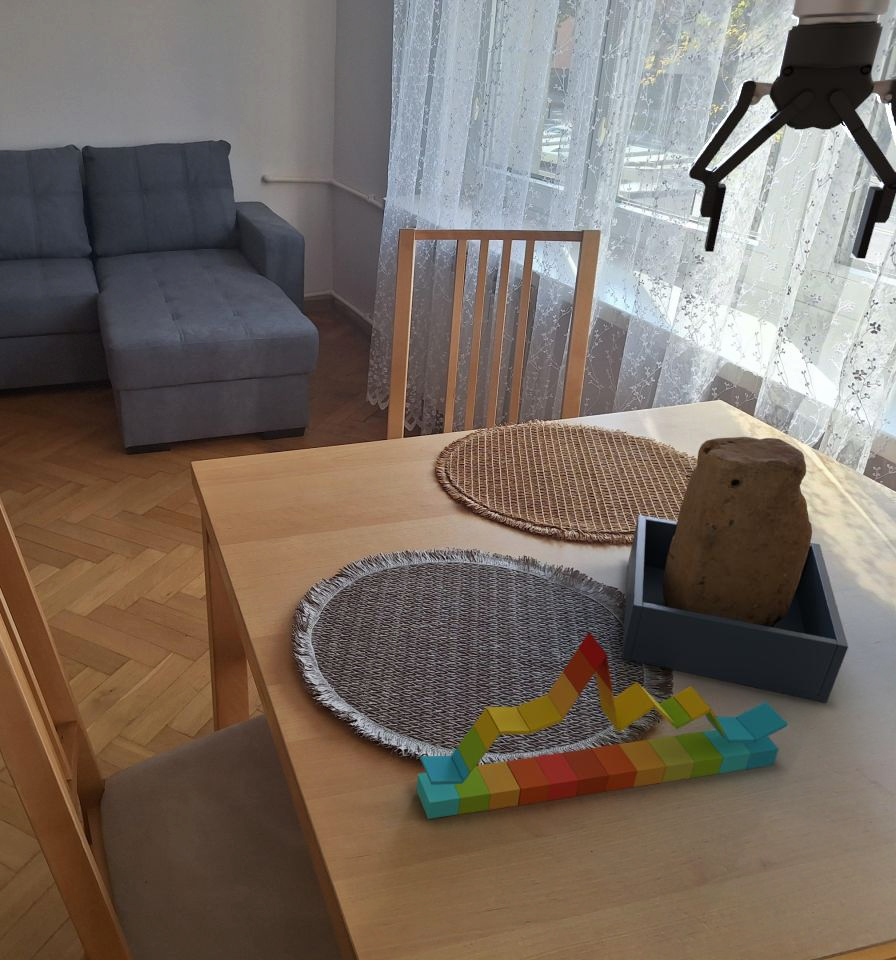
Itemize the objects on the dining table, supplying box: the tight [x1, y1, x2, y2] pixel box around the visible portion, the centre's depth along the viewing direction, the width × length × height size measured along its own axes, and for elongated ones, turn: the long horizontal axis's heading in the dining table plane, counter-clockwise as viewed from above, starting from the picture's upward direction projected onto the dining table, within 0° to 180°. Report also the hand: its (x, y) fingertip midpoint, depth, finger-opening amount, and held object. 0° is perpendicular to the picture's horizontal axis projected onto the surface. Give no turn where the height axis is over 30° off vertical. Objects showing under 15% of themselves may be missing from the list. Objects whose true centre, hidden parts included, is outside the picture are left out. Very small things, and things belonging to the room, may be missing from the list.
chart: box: [416, 632, 789, 820], centre depth 69 cm, size 30×3×15 cm, turn 99°
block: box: [663, 436, 813, 627], centre depth 84 cm, size 11×8×20 cm
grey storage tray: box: [621, 514, 849, 703], centre depth 87 cm, size 18×18×7 cm
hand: (781, 252), depth 89 cm, fingers open, 13 cm apart
